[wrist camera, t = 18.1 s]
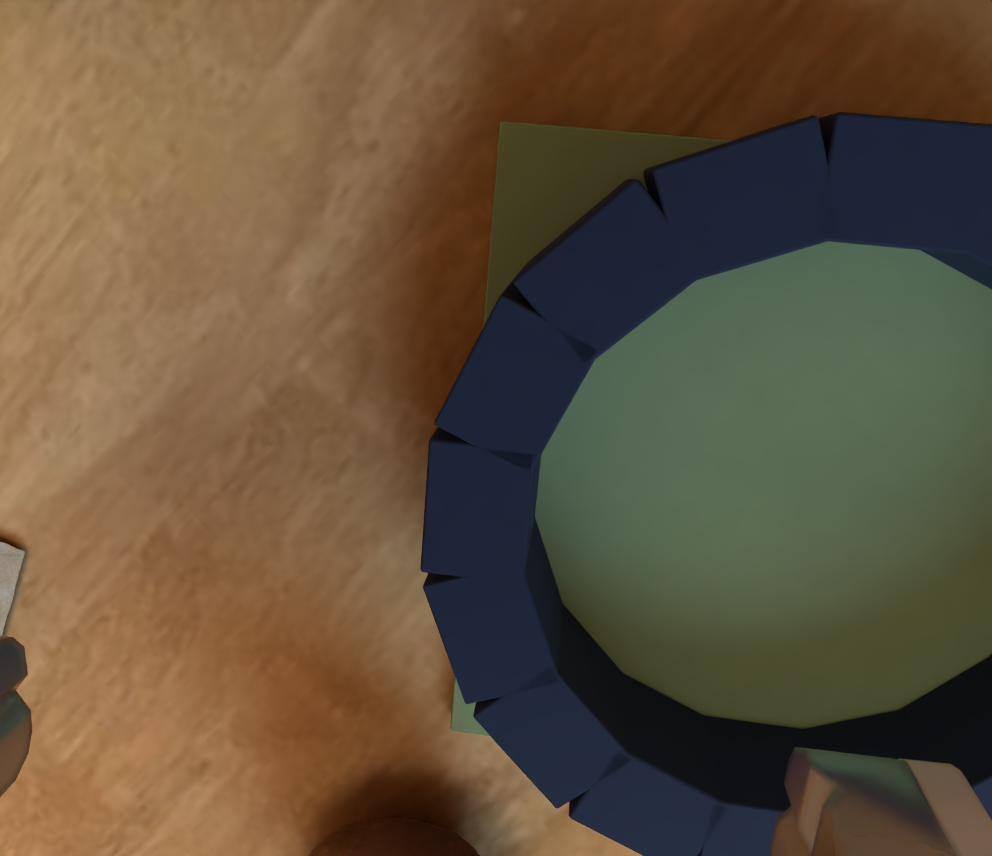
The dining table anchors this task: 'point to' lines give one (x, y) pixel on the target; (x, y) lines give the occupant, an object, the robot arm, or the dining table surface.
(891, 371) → the mat
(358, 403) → the dining table surface
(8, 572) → the condiment
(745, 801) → the ring
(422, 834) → the fruit
